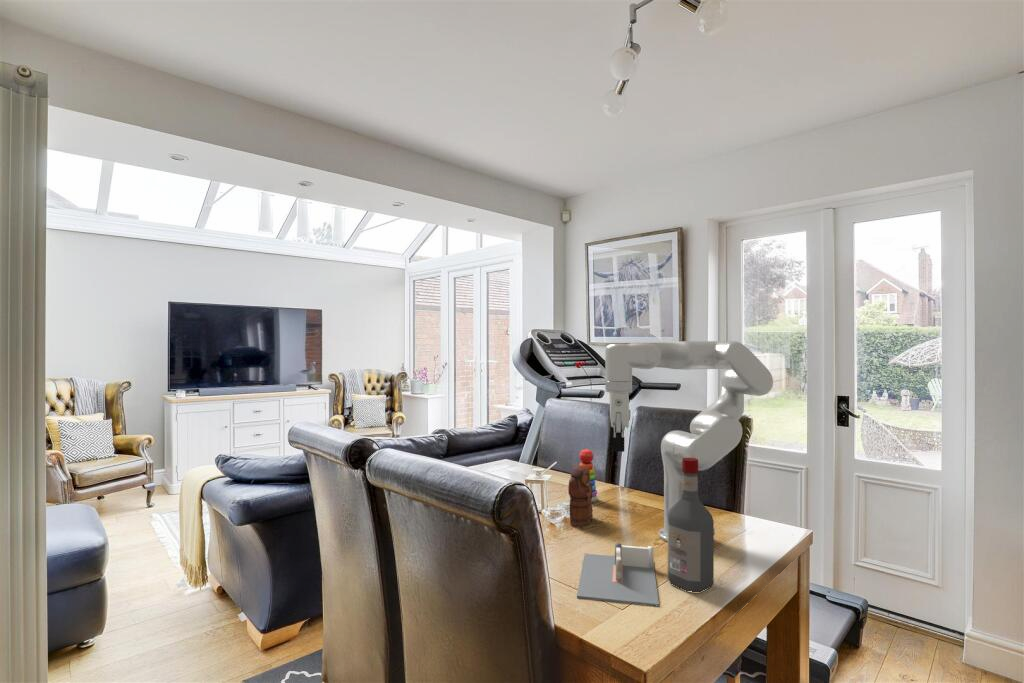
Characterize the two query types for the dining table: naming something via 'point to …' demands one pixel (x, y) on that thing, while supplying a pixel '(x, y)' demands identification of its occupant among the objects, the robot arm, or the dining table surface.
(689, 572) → the liquor
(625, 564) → the board
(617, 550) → the hinged panel
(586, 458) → the stacking toy
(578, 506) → the wooden figurine
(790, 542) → the dining table surface
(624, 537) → the dining table surface
